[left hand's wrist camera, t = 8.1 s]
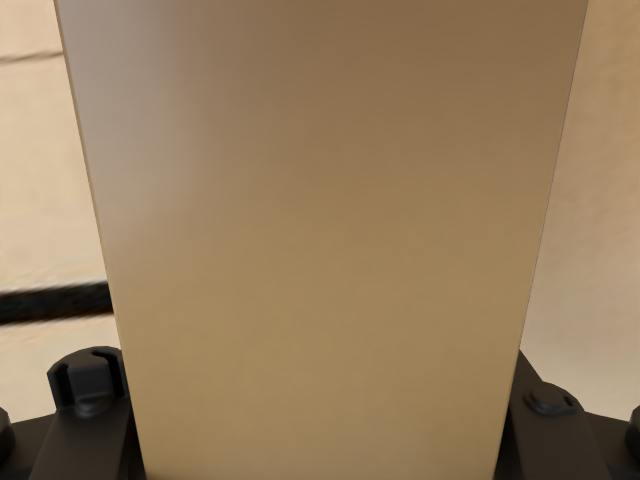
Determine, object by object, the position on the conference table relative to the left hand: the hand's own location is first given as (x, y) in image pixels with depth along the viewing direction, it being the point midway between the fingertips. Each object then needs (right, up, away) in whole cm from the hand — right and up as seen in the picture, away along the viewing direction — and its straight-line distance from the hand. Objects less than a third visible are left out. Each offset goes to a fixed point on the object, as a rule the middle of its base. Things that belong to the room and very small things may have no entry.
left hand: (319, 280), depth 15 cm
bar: (0, +7, -2) cm, 8 cm away
